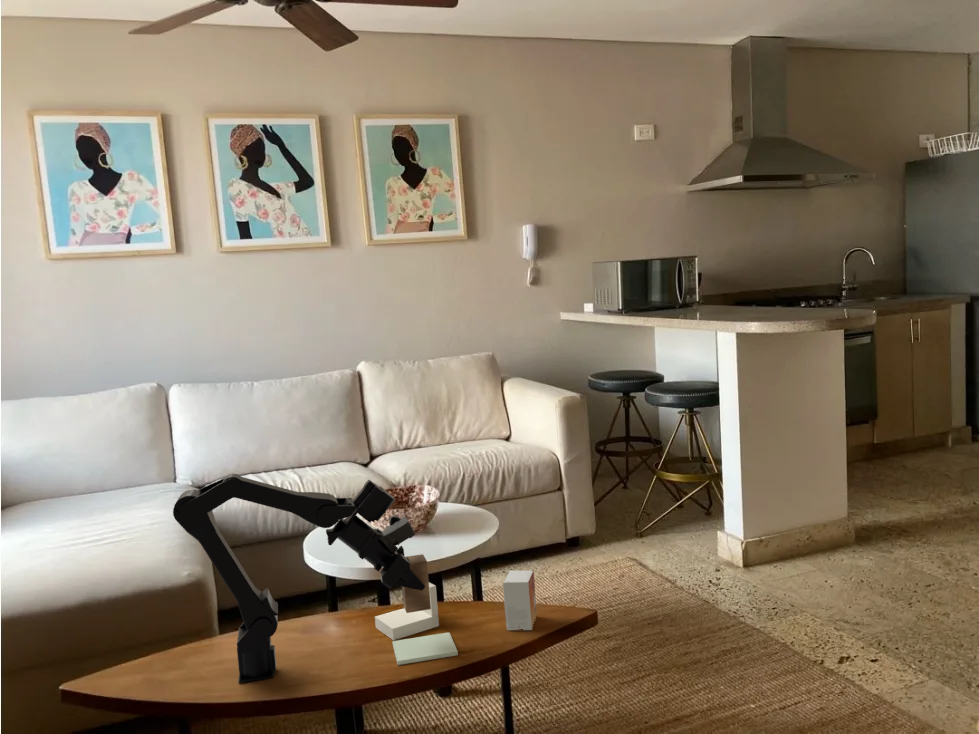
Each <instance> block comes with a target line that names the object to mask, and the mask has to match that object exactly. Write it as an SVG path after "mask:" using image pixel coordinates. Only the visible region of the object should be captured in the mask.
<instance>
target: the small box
mask: <svg viewBox="0 0 979 734" xmlns="http://www.w3.org/2000/svg"><path fill="white" fill-rule="evenodd" d="M502 589H503V599H504V600H503V601H504V613H505V625H506V631H519V630H518V629H523V630H522V631H533V628H534V625H535V623H534V621H535V622H536V620H537V618H536V616H537V617H538V613H537V602H536V601H537V597H536V585H535V571H534V570H527V569H526V570H509V571H508V573H507V575H506V577H505V579H504V581H503V582H502ZM535 619H536V620H535ZM533 624H534V625H533Z"/></svg>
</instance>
